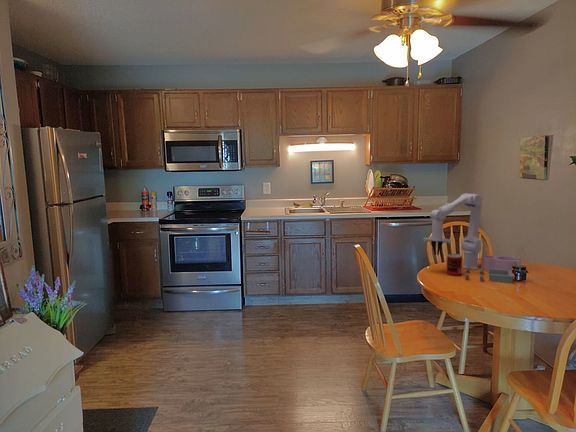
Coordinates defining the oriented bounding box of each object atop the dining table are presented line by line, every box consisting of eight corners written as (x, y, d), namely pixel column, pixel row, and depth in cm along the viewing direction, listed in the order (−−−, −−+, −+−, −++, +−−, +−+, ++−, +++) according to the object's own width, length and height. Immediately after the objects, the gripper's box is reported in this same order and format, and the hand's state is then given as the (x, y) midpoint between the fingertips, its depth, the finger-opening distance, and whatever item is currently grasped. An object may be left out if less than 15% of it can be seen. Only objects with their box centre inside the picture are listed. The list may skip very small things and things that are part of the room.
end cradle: (488, 274, 223) (488, 268, 222) (510, 276, 218) (511, 270, 218) (489, 280, 211) (489, 274, 210) (512, 283, 206) (512, 276, 206)
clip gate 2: (480, 272, 227) (480, 268, 227) (483, 272, 226) (483, 268, 226) (479, 281, 210) (480, 276, 210) (483, 281, 209) (483, 277, 209)
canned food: (458, 272, 228) (459, 253, 226) (463, 276, 220) (464, 256, 218) (444, 272, 229) (445, 253, 227) (449, 276, 221) (449, 256, 219)
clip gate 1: (466, 271, 230) (466, 266, 230) (469, 271, 229) (469, 267, 229) (465, 279, 213) (465, 275, 213) (468, 280, 212) (468, 275, 212)
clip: (480, 270, 232) (481, 258, 231) (481, 265, 243) (482, 254, 242) (520, 274, 223) (521, 262, 222) (519, 268, 233) (520, 257, 233)
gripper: (422, 231, 225) (422, 255, 227) (450, 232, 218) (449, 257, 220) (424, 229, 231) (423, 252, 233) (451, 230, 225) (450, 254, 227)
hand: (436, 254), depth 227 cm, fingers closed
